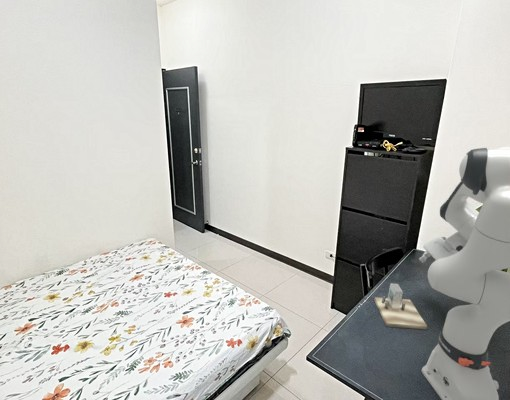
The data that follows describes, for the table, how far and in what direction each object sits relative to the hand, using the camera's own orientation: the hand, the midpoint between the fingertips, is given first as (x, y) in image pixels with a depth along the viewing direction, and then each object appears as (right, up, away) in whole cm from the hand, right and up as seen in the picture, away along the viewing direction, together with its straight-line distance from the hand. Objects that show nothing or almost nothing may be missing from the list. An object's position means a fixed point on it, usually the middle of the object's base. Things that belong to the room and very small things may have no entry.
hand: (425, 267), depth 117 cm
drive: (-11, -17, +5) cm, 21 cm away
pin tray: (-10, -20, +2) cm, 22 cm away
